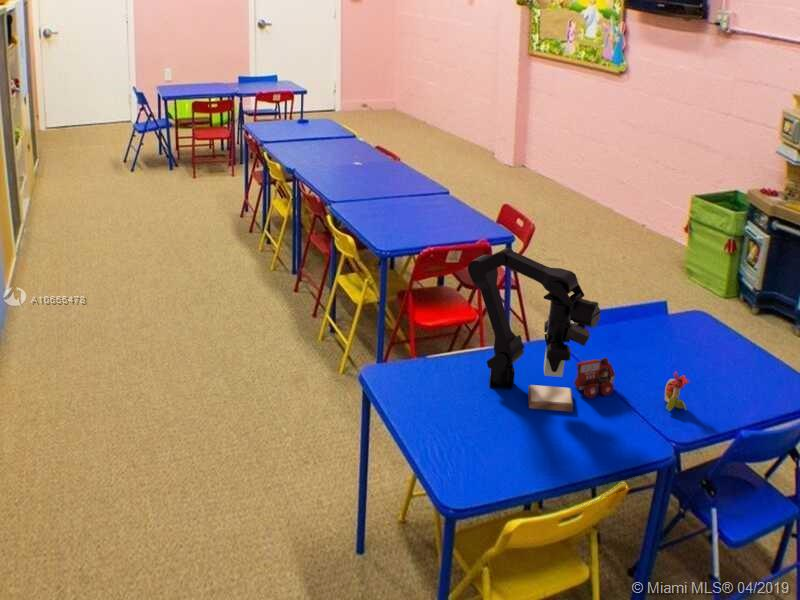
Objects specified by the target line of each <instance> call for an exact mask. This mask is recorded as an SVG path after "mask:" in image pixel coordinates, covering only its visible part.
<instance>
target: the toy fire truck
mask: <svg viewBox="0 0 800 600" xmlns="http://www.w3.org/2000/svg"><path fill="white" fill-rule="evenodd" d="M576 371H577V376H576V378H575V379H574V382H573V383H574V386H575V387H576V389H577V390H578V391H583V394H584V396H585V397H586V398H589V399H593V398H595V397H596V396H597V395H598V393H599V392H600V394H602V395H603V396H610V395H611V394H612V393H613V392H614V389H615V386H614V381H615V377H616V376H615V371H614V369H613V366H612V363H610V362H609V360H608V358H607V357H602V358H600V359H590V360H583V361H578V363H577V366H576Z"/></svg>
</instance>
